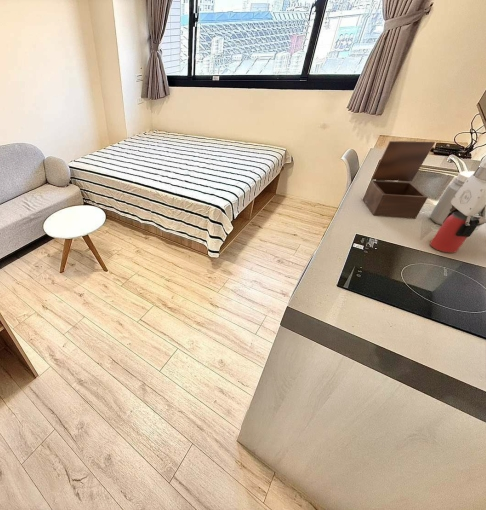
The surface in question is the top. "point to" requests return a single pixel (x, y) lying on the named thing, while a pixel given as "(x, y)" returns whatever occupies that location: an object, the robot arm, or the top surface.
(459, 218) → the beer can
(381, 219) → the top surface
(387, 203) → the storage box
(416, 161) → the box lid
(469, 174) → the jar
